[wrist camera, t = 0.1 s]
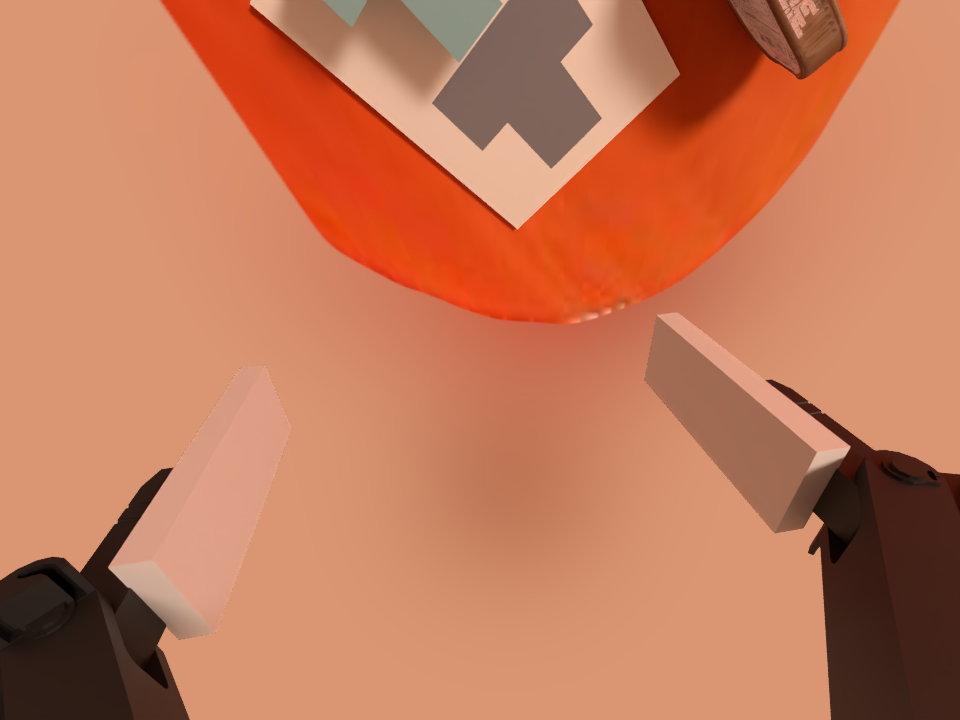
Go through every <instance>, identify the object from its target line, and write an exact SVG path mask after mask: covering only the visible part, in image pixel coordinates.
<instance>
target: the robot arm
mask: <svg viewBox="0 0 960 720" xmlns="http://www.w3.org/2000/svg"><path fill="white" fill-rule="evenodd" d="M645 381H646V382H647V384H648V385H649V386H650V387H651V388H652V389H653V391H654V392H655V393H656V394H657V395H658V396H659V398H660V399H661V400H662V401H663V402H664V404H665V405H666V406H667V407H668V408H669V410H670V411H671V412H672V413H673V414H674V415H675V416H676V418H677V419H678V420H679V421H680V422H681V424H682V425H683V426H684V427H685V428H686V429H687V431H688V432H689V433H690V434H691V435H692V437H693V438H694V439H695V440H696V441H697V442H698V444H699V445H700V446H701V447H702V448H703V450H704V451H705V452H706V453H707V454H708V455H709V457H710V458H711V459H712V460H713V461H714V462H715V464H716V465H717V466H718V467H719V468H720V470H721V471H722V472H723V473H724V474H725V476H726V477H727V478H728V479H729V480H730V481H731V482H732V484H733V485H734V486H735V487H736V488H737V490H738V491H739V492H740V493H741V494H742V496H743V497H744V498H745V499H746V500H747V501H748V503H749V504H750V505H751V506H752V507H753V508H754V509H755V511H756V512H757V513H758V514H759V516H760V517H761V518H762V519H763V520H764V521H765V523H766V524H767V525H768V526H769V527H770V529H771V530H772V531H773V532H774V533H779V532H785V531H790V530H796V529H802V528H804V526H805V525H806V523H807V521H808V519H809V518H810V516H811V514H812V513H813V512H814V513H815V514H816V515H817V516H818V517H819V518H820V519H821V520H822V521H823V522H824V524H823V526H822V528H821V529H820V531H819V532H818V534H817V536H816V537H815V539H814V540H813V542H812V544H811V545H810V548H809V551H808V553H809V554H812V555H814V554H815V552H816V550H817V549H818V548H819V547H821V564H822V580H823V596H824V612H825V627H826V644H827V659H828V660H827V661H828V677H829V692H830V709H831V720H960V475H959V474H949V473H939V472H937V471H936V470H935V469H934V468H932V467H931V466H930V465H928V464H926V463H924V462H922V461H920V460H918V459H916V458H914V457H911V456H908V455H905V454H902V453H900V452H894V451H888V450H879V451H875V450H873V449H872V448H870V447H869V446H868V445H866V444H865V443H864V442H862V441H861V440H860V439H858V438H857V437H856V436H854V435H853V434H852V433H850V432H849V431H848V430H846V429H845V428H844V427H842V426H841V425H840V424H838V423H837V422H836V421H834V420H833V419H831V418H830V417H829V416H828V415H826V414H825V413H824V414H822V413H821V410H819V409H818V408H817V407H815V406H814V405H813V404H809V403H808V401H807V400H806V399H805V398H803V397H802V396H800V395H799V394H798V393H797V392H795V391H794V390H793V389H791V388H788V387H786V386H784V385H782V384H780V383H778V382H776V381H773V380H764V379H763V378H761V377H760V376H759V375H758V374H756V373H755V372H754V371H752V370H751V369H750V368H749V367H747V366H746V365H745V364H743V363H742V362H741V361H740V360H738V359H737V358H736V357H734V356H733V355H732V354H731V353H729V352H728V351H727V350H725V349H724V348H723V347H722V346H720V345H719V344H718V343H716V342H715V341H714V340H713V339H711V338H710V337H709V336H707V335H706V334H705V333H704V332H702V331H701V330H700V329H698V328H697V327H696V326H694V325H693V324H692V323H690V322H689V321H688V320H687V319H685V318H684V317H683V316H682V315H680V314H679V313H678V312H675V313H668V314H660V315H656V320H655V326H654V331H653V336H652V342H651V347H650V353H649V358H648V363H647V369H646V374H645ZM291 431H292V429H291V427H290V424H289V422H288V420H287V417H286V415H285V412H284V410H283V408H282V405H281V403H280V401H279V398H278V396H277V394H276V391H275V388H274V386H273V384H272V381H271V379H270V377H269V374H268V372H267V369H266V367H265V365H261V366H254V367H246V368H240V369H239V370H238V372H237V373H236V375H235V376H234V378H233V379H232V381H231V382H230V384H229V385H228V387H227V388H226V390H225V391H224V393H223V394H222V396H221V397H220V399H219V400H218V402H217V404H216V405H215V407H214V408H213V409H212V411H211V413H210V414H209V415H208V417H207V418H206V420H205V422H204V423H203V425H202V426H201V428H200V429H199V431H198V432H197V434H196V435H195V437H194V438H193V440H192V441H191V443H190V444H189V446H188V447H187V449H186V450H185V452H184V453H183V455H182V456H181V458H180V459H179V461H178V462H177V464H176V466H175V467H174V468H167V469H161V470H160V471H159V472H158V473H157V474H155V475H154V476H153V477H152V478H151V479H150V480H149V481H147V482H146V483H145V484H144V485H143V486H142V487H141V488H140V489H139V491H138V492H137V494H136V495H135V496H134V498H133V499H132V501H131V502H130V504H129V508H127V509H125V511H124V512H123V513H122V515H121V516H120V518H119V519H118V523H117V524H115V525H114V526H113V527H112V529H111V530H110V531H109V533H108V534H107V536H106V537H105V538H104V540H103V541H102V543H101V544H100V545H99V547H98V548H97V550H96V551H95V552H94V554H93V556H92V557H91V558H90V559H89V561H88V562H87V564H86V565H85V566H84V568H83V569H82V571H81V572H80V573H79V572H78V571H77V570H76V569H75V568H74V567H73V566H72V565H71V564H70V563H69V562H68V561H67V560H66V559H65V558H59V557H50V558H45V559H41V560H37V561H35V562H32V563H30V564H28V565H26V566H24V567H21V568H19V569H17V570H15V571H14V572H12V573H11V574H9V575H8V576H6V577H5V578H3V579H2V580H0V720H190V719H189V717H188V714H187V712H186V709H185V706H184V704H183V701H182V699H181V696H180V694H179V691H178V688H177V686H176V683H175V681H174V678H173V675H172V673H171V670H170V668H169V665H168V663H167V660H166V657H165V655H164V653H163V651H162V650H161V649H160V648H159V647H158V646H157V644H158V642H159V640H160V638H161V636H162V634H163V632H164V630H165V628H166V627H167V628H168V629H169V630H170V631H171V632H172V633H173V634H174V635H175V636H176V637H177V638H178V639H179V640H181V639H186V638H192V637H197V636H203V635H209V634H214V633H216V631H217V629H218V626H219V623H220V621H221V618H222V615H223V613H224V610H225V607H226V604H227V602H228V599H229V596H230V594H231V591H232V588H233V586H234V583H235V581H236V578H237V575H238V572H239V570H240V567H241V564H242V562H243V559H244V556H245V554H246V551H247V548H248V546H249V543H250V540H251V538H252V535H253V532H254V529H255V527H256V524H257V522H258V519H259V516H260V514H261V511H262V508H263V506H264V503H265V500H266V498H267V495H268V492H269V489H270V487H271V484H272V482H273V479H274V476H275V474H276V471H277V468H278V465H279V463H280V460H281V458H282V454H283V452H284V449H285V447H286V444H287V442H288V439H289V436H290V434H291Z"/></svg>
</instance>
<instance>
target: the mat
mask: <svg viewBox="0 0 960 720" xmlns="http://www.w3.org/2000/svg"><path fill="white" fill-rule="evenodd" d="M500 1H501V2H502V6H501V7H500V8H499V10H498V11H497V12H496V14H495V15H494V16H493V18H492V19H491V21H490V22H489V23H488V25H487V26H486V27H485V29H484V30H483V31H482V33H481V34H480V35H479V37H478V38H477V39H476V41H475V42H474V44H473V45H472V46H471V48H470V49H469V50H468V52H467V53H466V54H465V56H464V57H463V58H462V60H461V61H460V62H458V61H457V60H456V59H455V58H454V57H453V56H452V55H451V54H450V53H449V52H448V50H447V49H446V48H445V47H444V46H443V45H442V44H441V43H440V42H439V41H438V40H437V39H436V38H435V36H434V35H433V34H432V33H431V32H430V31H429V30H428V29H427V28H426V27H425V26H424V25H423V23H422V22H421V21H420V20H419V19H418V18H417V17H416V16H415V15H414V14H413V13H412V12H411V11H410V9H409V8H408V7H407V6H406V5H405V4H404V3H403V2H402V1H401V0H367V2H366V4H365V6H364V7H363V9H362V11H361V13H360V14H359V16H358V18H357V20H356V21H355V23H354V25H353V27H351V26H349V25H348V24H347V23H346V22H345V21H344V20H343V19H342V18H341V17H340V16H339V15H338V14H337V13H336V12H335V11H334V10H333V9H331V8H330V7H329V6H328V5H327V4H326V3H325V2H324V1H323V0H251V2H250V5H252V6H253V7H254V8H255V9H256V10H258V11H259V12H260V13H261V14H262V15H264V16H265V17H266V18H267V19H268V20H269V21H271V22H272V23H273V24H274V25H275V26H277V27H278V28H279V29H280V30H281V31H283V32H284V33H285V34H286V35H287V36H288V37H290V38H291V39H292V40H293V41H294V42H296V43H297V44H298V45H299V46H300V47H302V48H303V49H304V50H305V51H306V52H307V53H309V54H310V55H311V56H312V57H313V58H315V59H316V60H317V61H318V62H319V63H321V64H322V65H323V66H324V67H325V68H326V69H328V70H329V71H330V72H331V73H332V74H334V75H335V76H336V77H337V78H338V79H340V80H341V81H342V82H343V83H344V84H345V85H347V86H348V87H349V88H350V89H351V90H353V91H354V92H355V93H356V94H357V95H359V96H360V97H361V98H362V99H363V100H364V101H366V102H367V103H368V104H369V105H370V106H372V107H373V108H374V109H375V110H376V111H378V112H379V113H380V114H381V115H382V116H383V117H385V118H386V119H387V120H388V121H389V122H391V123H392V124H393V125H394V126H395V127H397V128H398V129H399V130H400V131H401V132H402V133H404V134H405V135H406V136H407V137H408V138H410V139H411V140H412V141H413V142H414V143H416V144H417V145H418V146H419V147H420V148H421V149H423V150H424V151H425V152H426V153H427V154H429V155H430V156H431V157H432V158H433V159H435V160H436V161H437V162H438V163H439V164H440V165H442V166H443V167H444V168H445V169H446V170H448V171H449V172H450V173H451V174H452V175H454V176H455V177H456V178H457V179H458V180H459V181H461V182H462V183H463V184H464V185H465V186H467V187H468V188H469V189H470V190H471V191H473V192H474V193H475V194H476V195H477V196H478V197H480V198H481V199H482V200H483V201H484V202H486V203H487V204H488V205H489V206H490V207H492V208H493V209H494V210H495V211H496V212H497V213H499V214H500V215H501V216H502V217H503V218H505V219H506V220H507V221H508V222H509V223H511V224H512V225H513V226H514V227H515V228H516V229H518V228H519V227H520V226H521V225H522V224H523V223H525V222H526V221H527V220H528V219H529V218H530V217H531V216H532V215H533V214H534V213H535V212H536V211H537V210H538V209H539V208H540V207H541V206H542V205H543V204H544V203H546V202H547V201H548V200H549V199H550V198H551V197H552V196H553V195H554V194H555V193H556V192H557V191H558V190H559V189H560V188H561V187H562V186H563V185H564V184H566V183H567V182H568V181H569V180H570V179H571V178H572V177H573V176H574V175H575V174H576V173H577V172H578V171H579V170H580V169H581V168H582V167H583V166H584V165H585V164H587V163H588V162H589V161H590V160H591V159H592V158H593V157H594V156H595V155H596V154H597V153H598V152H599V151H600V150H601V149H602V148H603V147H604V146H605V145H607V144H608V143H609V142H610V141H611V140H612V139H613V138H614V137H615V136H616V135H617V134H618V133H619V132H620V131H621V130H622V129H623V128H624V127H625V126H627V125H628V124H629V123H630V122H631V121H632V120H633V119H634V118H635V117H636V116H637V115H638V114H639V113H640V112H641V111H642V110H643V109H644V108H645V107H646V106H648V105H649V104H650V103H651V102H652V101H653V100H654V99H655V98H656V97H657V96H658V95H659V94H660V93H661V92H662V91H663V90H664V89H665V88H666V87H668V86H669V85H670V84H671V83H672V82H673V81H674V80H675V79H676V78H677V77H678V76H679V75H680V73H679V71H678V69H677V67H676V65H675V63H674V61H673V60H672V58H671V56H670V54H669V52H668V50H667V48H666V46H665V44H664V42H663V40H662V38H661V37H660V35H659V33H658V31H657V29H656V27H655V25H654V23H653V21H652V19H651V17H650V15H649V14H648V12H647V10H646V8H645V6H644V4H643V2H642V0H500Z"/></svg>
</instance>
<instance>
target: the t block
mask: <svg viewBox="0 0 960 720" xmlns="http://www.w3.org/2000/svg"><path fill="white" fill-rule="evenodd" d="M323 1H324V2H325V3H326V4H327V5H328V6H329V7H330V8H331V9H333V10H334V11H335V12H336V13H337V14H338V15H339V16H340V17H341V18H342V19H343V20H344V21H345V22H346V23H347V24H348V25H349V26H351V27H353V25H354V23H355V21H356V20H357V18H358V16H359V14H360V13H361V11H362V9H363V7H364V6H365V4H366V2H367V0H323ZM401 1H402V2H403V3H404V4H405V5H406V6H407V7H408V8H409V9H410V11H411V12H412V13H413V14H414V15H415V16H416V17H417V18H418V19H419V20H420V21H421V22H422V23H423V25H424V26H425V27H426V28H427V29H428V30H429V31H430V32H431V33H432V34H433V35H434V36H435V38H436V39H437V40H438V41H439V42H440V43H441V44H442V45H443V46H444V47H445V48H446V49H447V50H448V52H449V53H450V54H451V55H452V56H453V57H454V58H455V59H456V60H457V61H458V62H460V61H461V60H462V58H463V57H464V56H465V54H466V53H467V52H468V50H469V49H470V48H471V46H472V45H473V44H474V42H475V41H476V39H477V38H478V37H479V35H480V34H481V33H482V31H483V30H484V29H485V27H486V26H487V25H488V23H489V22H490V21H491V19H492V18H493V16H494V15H495V14H496V12H497V11H498V10H499V8H500V7H501V6H502V2H501V1H500V0H401Z"/></svg>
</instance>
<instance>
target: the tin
mask: <svg viewBox="0 0 960 720" xmlns="http://www.w3.org/2000/svg"><path fill="white" fill-rule="evenodd" d="M727 1H728V2H729V4H730V6H731V7H732V9H733V11H734V12H735V14H736V16H737V18H738V19H739V21H740V23H741V24H742V26H743V27H744V29H745V30H746V31H747V33H748V34H749V36H750V37H751V38H752V40H753V41H754V42H755V44H756V45H757V46H758V47H759V48H760V49H761V51H762V52H763V53H764V54H765V55H766V56H767V57H768V58H769V59H770V60H772V61H773V62H775V63H777V64H780V65H781V66H783V67H784V68H786V69H787V70H788V71H790V72H791V73H793V74H794V75H795V76H796V78H798V79H804V78H806V77H808V76H809V75H811V74H812V73H813V72H815V71H816V70H817V69H818V68H819V67H820V66H822V65H823V64H824V63H825V62H826V61H827V60H829V59H830V58H831V57H832V56H833V55H835V54H836V53H837V52H839V51H841V50H843V49H844V48H845V47H846V45H847V42H848V33H847V32H848V31H847V27H846V24H845V21H844V19H843V16H842V13H841V11H840V8H839V6H838V3H837V0H727Z"/></svg>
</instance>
